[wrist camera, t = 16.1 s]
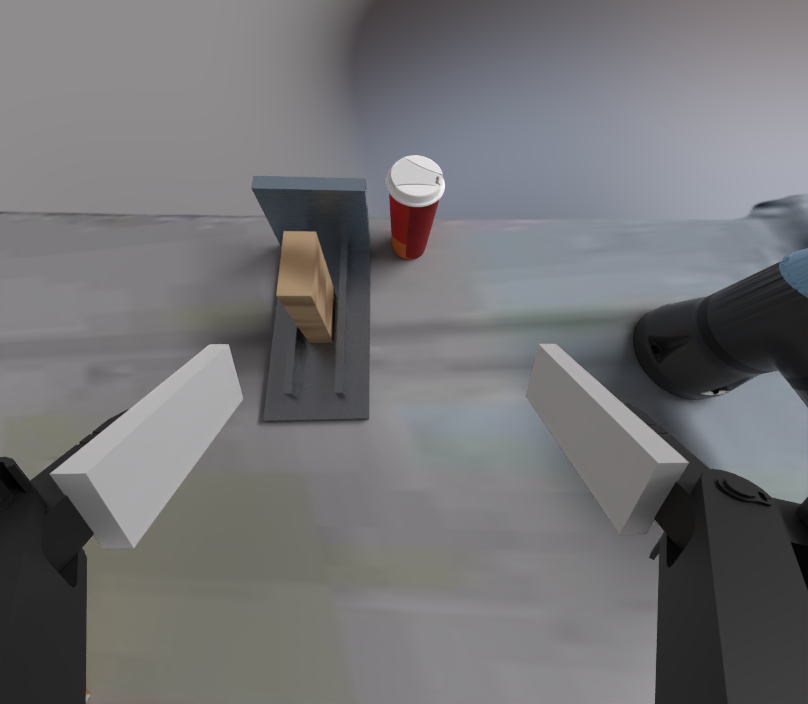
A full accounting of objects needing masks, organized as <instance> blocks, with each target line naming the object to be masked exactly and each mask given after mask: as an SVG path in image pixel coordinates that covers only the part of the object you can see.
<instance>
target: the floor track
mask: <svg viewBox="0 0 808 704" xmlns="http://www.w3.org/2000/svg"><path fill="white" fill-rule="evenodd" d="M252 190H253V192H254V194H255V196H256V198H257V200H258V202H259V204H260V206H261V208H262V210H263V211H264V214H265V216H266V218H267V220H268V222H269V224H270V226H271V228H272V230H273V232H274V234H275V236H276V237H277V239H278V241H279V243H280V245H281V247H282V241H283V233H284V231H307V232H316V233H317V237H318V240H319V243H320V246H321V249H322V252H323V256H324V259H325V262H326V265H327V268H328V271H329V275H330V278H331V281H332V284H333V287H334V290H335V293H336V299H335V320H334V342H333V343H309V342H308V341H307V339H306V338H305V336H304V335H303V333H302V332H301V331H300V329H299V328H298V326H297V325H296V323H295V322H294V321H293V319H292V318H291V316H290V315H289V313H288V312H287V310H286V309H285V308H284V306H283V305H282V303H281V302H280V300H279V299H278V298H277V304H276V312H275V321H274V330H273V338H272V347H271V356H270V364H269V373H268V381H267V390H266V399H265V407H264V416H263V421H303V420H347V419H369V357H370V233H369V219H368V208H367V207H368V206H367V193H366V180H365V179H354V178H353V179H351V178H316V177H315V178H314V177H277V176H253V182H252Z"/></svg>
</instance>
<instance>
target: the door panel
mask: <svg viewBox="0 0 808 704" xmlns="http://www.w3.org/2000/svg"><path fill="white" fill-rule="evenodd" d="M276 296H277V298H278V299H279V300H280V302H281V303H282V305H283V306H284V308H285V309H286V310H287V312H288V313H289V315H290V316H291V318H292V319H293V321H294V322H295V323H296V325H297V326H298V328H299V329H300V331H301V332H302V333H303V335H304V336H305V338H306V339H307V341H308V342H309V343H333V342H334V320H335V299H336V293H335V290H334V287H333V284H332V281H331V278H330V275H329V271H328V268H327V265H326V262H325V259H324V256H323V252H322V249H321V246H320V243H319V240H318V237H317V233H316V232H307V231H284V233H283V241H282V250H281V259H280V267H279V276H278V285H277V294H276Z"/></svg>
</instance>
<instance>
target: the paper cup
mask: <svg viewBox="0 0 808 704" xmlns="http://www.w3.org/2000/svg"><path fill="white" fill-rule="evenodd" d="M385 184H386V186H387V189H388V191H389V196H390V216H391V232H392V245H393V249H394V252H395V253H396V254H397V255H398V256H399V257H401V258H403V259H407V260H412V259H416V258H418V257H420V256H421V255H422V254H423V252H424V250H425V247H426V244H427V241H428V237H429V234H430V230H431V227H432V223H433V220H434V216H435V213H436V209H437V206H438V202H439V199H440V197H441V196H442V194H443V192H444V189H445V182H444V179H443V174H442V171H441V169H440V167H439V166H438V165H437V164H436V163H435V162H434V161H432V160H431V159H429V158H426V157H423V156H416V155H415V156H406V157H404V158H402V159H400V160H399V161H397V162H396V163H395V164H394V166H392V167H391V169H390V170H389V173H388V174H387V176H386V180H385Z"/></svg>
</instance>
